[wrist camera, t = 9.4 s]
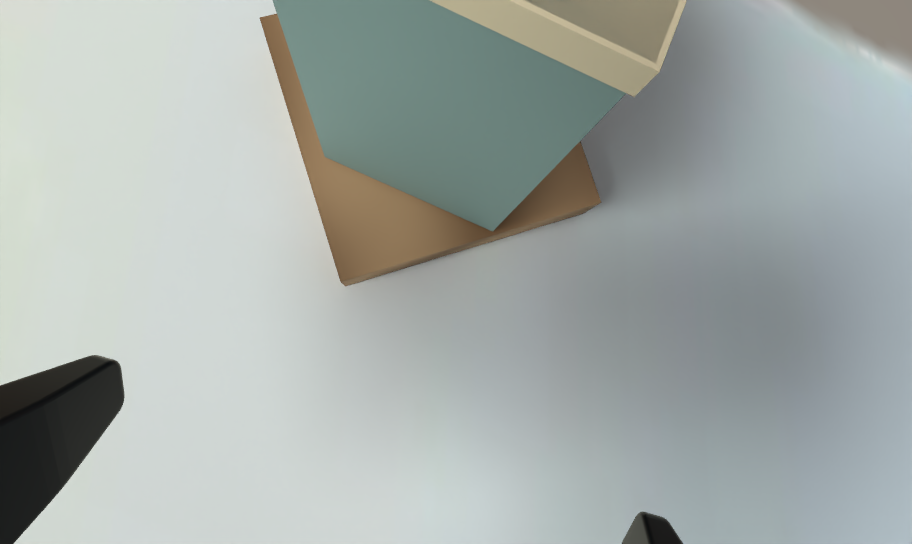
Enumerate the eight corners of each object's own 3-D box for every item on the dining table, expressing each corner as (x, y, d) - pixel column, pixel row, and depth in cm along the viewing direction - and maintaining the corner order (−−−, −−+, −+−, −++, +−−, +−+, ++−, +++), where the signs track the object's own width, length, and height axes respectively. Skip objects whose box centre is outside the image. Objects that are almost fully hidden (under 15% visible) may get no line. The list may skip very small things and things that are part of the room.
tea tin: (494, 235, 20) (659, 72, 8) (320, 157, 19) (214, -141, 7) (559, 77, 21) (792, -277, 9) (397, 1, 20) (413, -480, 8)
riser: (346, 287, 21) (340, 281, 19) (274, 52, 22) (259, 17, 20) (578, 216, 23) (601, 202, 20) (504, -3, 23) (517, -42, 21)
